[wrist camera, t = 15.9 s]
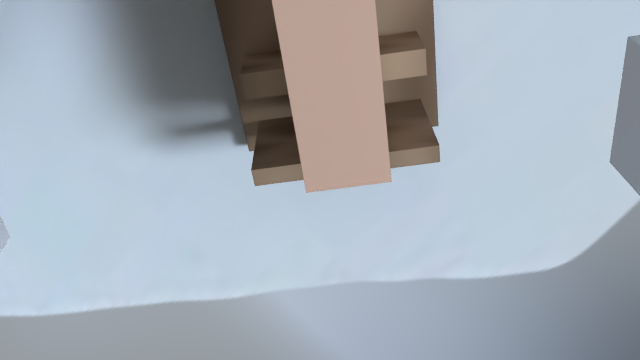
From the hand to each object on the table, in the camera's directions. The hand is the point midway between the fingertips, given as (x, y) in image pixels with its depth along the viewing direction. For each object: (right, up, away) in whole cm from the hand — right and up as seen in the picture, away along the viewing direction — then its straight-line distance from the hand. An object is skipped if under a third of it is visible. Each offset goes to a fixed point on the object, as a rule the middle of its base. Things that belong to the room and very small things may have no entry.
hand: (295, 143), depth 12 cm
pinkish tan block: (+1, +9, +18) cm, 20 cm away
